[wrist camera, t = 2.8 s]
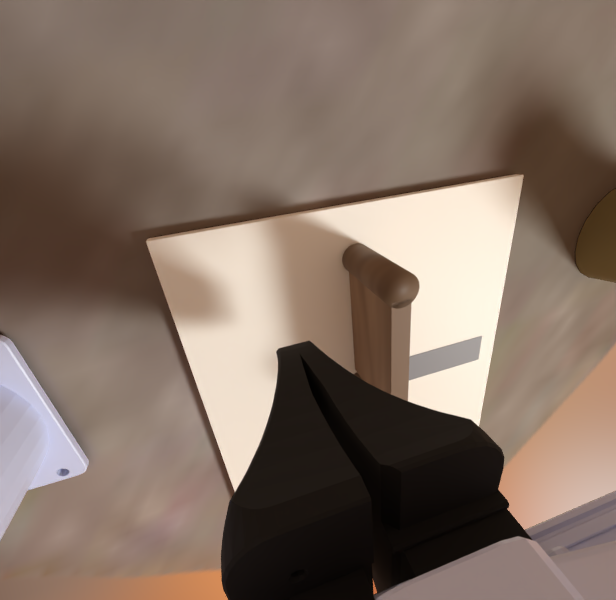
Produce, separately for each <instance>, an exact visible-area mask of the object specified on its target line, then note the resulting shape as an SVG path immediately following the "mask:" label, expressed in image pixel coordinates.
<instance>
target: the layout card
mask: <svg viewBox="0 0 616 600" xmlns="http://www.w3.org/2000/svg"><path fill="white" fill-rule="evenodd" d="M523 177H524V175H518V174H514V175H508V176H503V177H497V178H491V179H485V180H480V181H474V182H468V183H463V184H457V185H451V186H445V187H440V188H434V189H428V190H422V191H417V192H411V193H405V194H400V195H394V196H388V197H382V198H377V199H371V200H365V201H359V202H354V203H348V204H342V205H337V206H331V207H325V208H319V209H314V210H308V211H302V212H297V213H291V214H285V215H279V216H274V217H268V218H262V219H256V220H251V221H245V222H239V223H234V224H228V225H222V226H216V227H211V228H205V229H199V230H193V231H188V232H182V233H176V234H171V235H165V236H159V237H153V238H148V239H147V241H146V243H147V246H148V249H149V252H150V255H151V257H152V260H153V263H154V266H155V269H156V272H157V274H158V277H159V280H160V283H161V286H162V288H163V291H164V294H165V297H166V300H167V302H168V305H169V308H170V311H171V314H172V317H173V319H174V322H175V325H176V328H177V331H178V333H179V336H180V339H181V342H182V345H183V348H184V350H185V353H186V356H187V359H188V362H189V364H190V367H191V370H192V373H193V376H194V379H195V381H196V384H197V387H198V390H199V393H200V395H201V398H202V401H203V404H204V407H205V409H206V412H207V415H208V418H209V421H210V424H211V426H212V429H213V432H214V435H215V438H216V440H217V443H218V446H219V449H220V452H221V455H222V457H223V460H224V463H225V466H226V469H227V471H228V474H229V477H230V480H231V483H232V485H233V488H234V491H236V489H237V488H238V486H239V484H240V482H241V481H242V479H243V477H244V475H245V473H246V472H247V470H248V468H249V465H250V463H251V461H252V459H253V457H254V455H255V453H256V450H257V448H258V446H259V444H260V441H261V439H262V436H263V433H264V430H265V428H266V425H267V422H268V418H269V415H270V412H271V408H272V404H273V399H274V394H275V389H276V383H277V373H278V359H277V354H276V351H277V350H278V348H282V347H286V346H290V345H294V344H297V343H301V342H305V341H311V342H312V343H313V344H314V345H316V346H317V347H318V348H319V349H320V350H321V351H323V352H324V353H325V354H326V355H327V356H329V357H330V358H331V359H333V360H334V361H335V362H337V363H338V364H339V365H341V366H342V367H343V368H345V369H346V370H348V371H349V372H351V373H352V374H355V373H356V372H357V371H356V370H355V362H354V345H353V329H352V313H351V296H350V280H349V271H347V270H346V269H345V268H344V266H343V263H342V257H343V254H344V252H345V250H346V249H347V248H348V247H349V246H351V245H353V244H356V243H361V244H364V245H365V246H367V247H369V248H370V249H372V250H374V251H375V252H377V253H379V254H381V255H382V256H384V257H386V258H387V259H389V260H391V261H392V262H394V263H396V264H397V265H399V266H401V267H402V268H404V269H406V270H407V271H409V272H411V273H412V274H414V275H415V276H416V277H417V278H418V280H419V292H418V294H417V296H416V298H415V299H414V301H413V302H412V303H411V330H410V358H409V386H408V402H411V403H414V404H417V405H420V406H423V407H426V408H429V409H432V410H436V411H439V412H443V413H447V414H451V415H455V416H459V417H463V418H467V419H471V420H472V421H473V422H474V423H475V424H477V425H478V426H479V422H480V417H481V411H482V405H483V400H484V394H485V389H486V383H487V377H488V372H489V366H490V361H491V355H492V350H493V344H494V338H495V333H496V327H497V322H498V316H499V311H500V305H501V299H502V294H503V288H504V283H505V277H506V271H507V266H508V260H509V255H510V249H511V244H512V238H513V232H514V227H515V221H516V216H517V210H518V205H519V199H520V193H521V188H522V182H523Z"/></svg>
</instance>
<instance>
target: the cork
mask: <svg viewBox="0 0 616 600" xmlns="http://www.w3.org/2000/svg"><path fill="white" fill-rule="evenodd" d="M575 256H576V265H577V267H578V269H579V270H580V272H581V273H582V274H584V275H586V276H587V277H590V278H595V279H600V280H605V281H610V282H615V283H616V188H615V189H614V190H612V191H611V192H609V193H608V194H607V195H606V196H605V197H604V198H603V199H602V200H601V201H600V202H599V203H598V204H597V205H596V207H595V208H594V209H593V211H592V212H591V214H590V215H589V217H588V218H587V220H586V221H585V223H584V226H583V228H582V230H581V232H580V235H579V237H578V241H577V246H576V250H575Z"/></svg>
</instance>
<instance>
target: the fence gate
mask: <svg viewBox="0 0 616 600" xmlns="http://www.w3.org/2000/svg"><path fill="white" fill-rule="evenodd" d="M342 263H343V266H344V268H345V269H346V270H347V271H349V280H350V296H351V313H352V329H353V345H354V362H355V370H356V371H357V373H358V374H359V376H360V377H361V379H362V380H363V381H365V382H367V383H369V384H371V385H373V386H375V387H376V388H378V389H380V390H382V391H385V392H387V393H389V394H391V395H394V396H396V397H399V398H401V399H403V400H406V401H408V386H409V358H410V330H411V303H412V302H413V301H414V299H415V298H416V296H417V294H418V292H419V280H418V278H417V277H416V276H415V275H414V274H412V273H411V272H409V271H407V270H406V269H404V268H402V267H401V266H399V265H397V264H396V263H394V262H392V261H391V260H389V259H387V258H386V257H384V256H382V255H381V254H379V253H377V252H375V251H374V250H372V249H370V248H369V247H367V246H365V245H364V244H361V243H356V244H353V245H351V246H349V247H348V248H347V249H346V250H345V252H344V254H343V257H342Z"/></svg>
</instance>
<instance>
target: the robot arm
mask: <svg viewBox="0 0 616 600" xmlns="http://www.w3.org/2000/svg"><path fill="white" fill-rule="evenodd" d="M276 354H277V359H278V373H277V383H276V389H275V394H274V399H273V404H272V408H271V412H270V415H269V418H268V422H267V425H266V428H265V430H264V433H263V436H262V439H261V441H260V444H259V446H258V448H257V450H256V453H255V455H254V457H253V459H252V461H251V463H250V465H249V468H248V470H247V472H246V473H245V475H244V477H243V479H242V481H241V482H240V484H239V486H238V488H237V489H236V491H235V493H234V495H233V496H232V498H231V500H230V502H229V506H228V511H227V515H226V520H225V526H224V532H223V539H222V550H221V572H222V585H223V589H224V592H225V594H226V596H227V598H228V600H616V491H614V492H612V493H609V494H607V495H605V496H603V497H600V498H598V499H595V500H593V501H591V502H588V503H586V504H584V505H581V506H579V507H577V508H574V509H572V510H570V511H567V512H565V513H563V514H561V515H558V516H556V517H553V518H551V519H549V520H546V521H544V522H542V523H539V524H537V525H535V526H532V527H530V528H528V529H525V530H524V529H523V528H522V526H521V525H520V524H519V523H518V522H517V520H516V519H515V518H514V517H513V516H512V514H511V513H510V512H509V511H508V510H507V508H508V507H509V503H508V501H507V500H506V499H505V497H504V496H503V495H502V494H501V493H500V491H499V490H498V487H499V483H500V479H501V475H502V471H503V465H504V455H503V452H502V449H501V448H500V447H499V446H498V445H497V444H496V443H495V442H494V441H493V440H492V439H491V438H490V437H489V436H488V435H487V434H486V433H485V432H484V431H483V430H482V429H481V428H480V427H479V426H478V425H477V424H475V423H474V422H473V421H472V420H471V419H467V418H463V417H459V416H455V415H451V414H447V413H443V412H439V411H436V410H432V409H429V408H426V407H423V406H420V405H417V404H414V403H411V402H408V401H406V400H403V399H401V398H399V397H396V396H394V395H391V394H389V393H387V392H385V391H382V390H380V389H378V388H376V387H375V386H373V385H371V384H369V383H367V382H365V381H363V380H362V379H360V378H359V377H357V376H355V375H354V374H352V373H351V372H349V371H348V370H346V369H345V368H343V367H342V366H341V365H339V364H338V363H337V362H335V361H334V360H333V359H331V358H330V357H329V356H327V355H326V354H325V353H324V352H323V351H321V350H320V349H319V348H318V347H317V346H316V345H314V344H313V343H312V342H311V341H305V342H301V343H297V344H294V345H290V346H286V347H282V348H278V350H277V351H276ZM88 464H89V461H88V458H87V457H86V455H85V454H84V452H83V451H82V449H81V448H80V446H79V445H78V443H77V441H76V440H75V438H74V437H73V435H72V434H71V432H70V431H69V429H68V427H67V426H66V424H65V423H64V421H63V420H62V418H61V417H60V415H59V414H58V412H57V410H56V409H55V407H54V406H53V404H52V403H51V401H50V400H49V398H48V396H47V395H46V393H45V392H44V390H43V389H42V387H41V386H40V384H39V382H38V381H37V379H36V378H35V376H34V375H33V373H32V372H31V370H30V369H29V367H28V365H27V364H26V362H25V361H24V359H23V358H22V356H21V355H20V353H19V351H18V350H17V348H16V347H15V345H14V344H13V342H12V341H11V340H10V339H9V338H7V337H5V336H3V335H0V540H1V538H2V536H3V535H4V533H5V531H6V529H7V527H8V525H9V523H10V522H11V520H12V518H13V516H14V514H15V512H16V511H17V509H18V507H19V505H20V503H21V501H22V499H23V498H24V496H25V494H26V492H27V490H30V489H34V488H37V487H40V486H44V485H47V484H50V483H54V482H57V481H60V480H64V479H67V478H70V477H74V476H77V475H80V474H82V473H84V472H85V471H86V469H87V466H88ZM63 468H64V469H63ZM373 580H374V583H375V587H376V589H377V593H376V594H374V595H373Z"/></svg>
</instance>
